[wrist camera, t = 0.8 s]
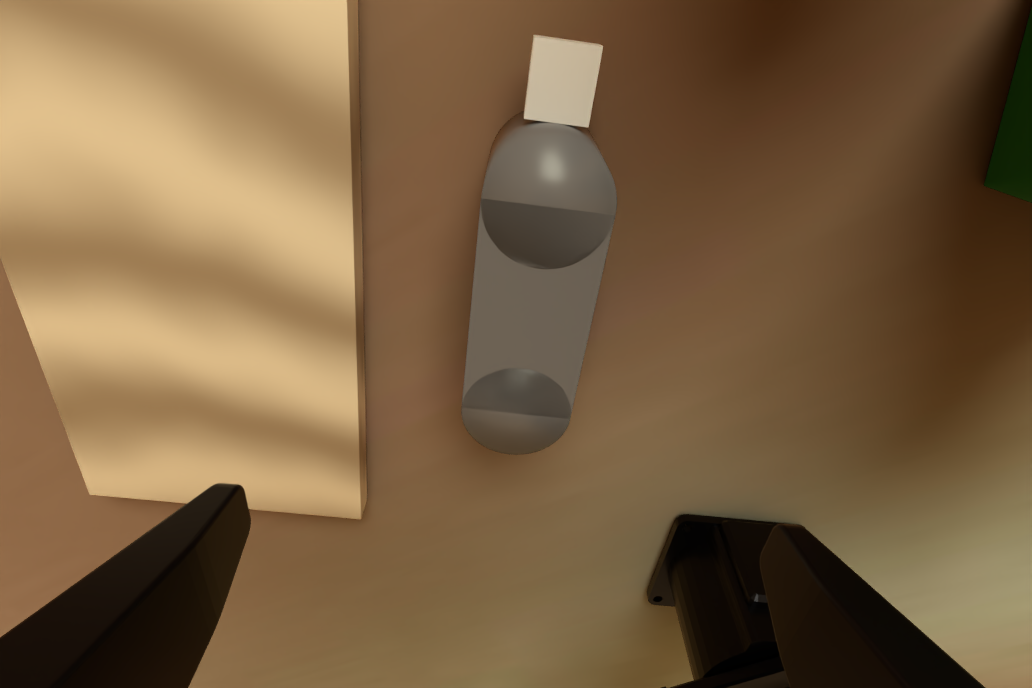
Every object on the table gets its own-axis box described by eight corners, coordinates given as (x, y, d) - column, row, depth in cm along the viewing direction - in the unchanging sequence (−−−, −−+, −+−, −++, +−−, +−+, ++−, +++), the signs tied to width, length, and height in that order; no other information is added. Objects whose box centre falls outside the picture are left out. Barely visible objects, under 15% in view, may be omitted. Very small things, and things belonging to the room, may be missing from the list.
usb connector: (554, 385, 23) (561, 459, 20) (468, 376, 23) (457, 448, 19) (621, 44, 17) (650, 56, 13) (502, 27, 17) (496, 35, 13)
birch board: (367, 499, 27) (361, 519, 26) (106, 475, 26) (89, 494, 25) (357, -66, 16) (344, -70, 14) (-105, -134, 15) (-152, -145, 14)
